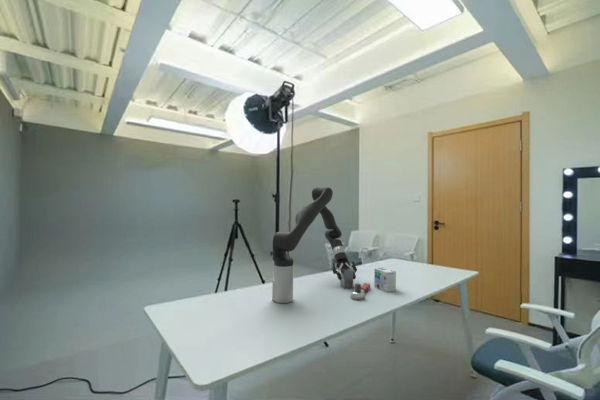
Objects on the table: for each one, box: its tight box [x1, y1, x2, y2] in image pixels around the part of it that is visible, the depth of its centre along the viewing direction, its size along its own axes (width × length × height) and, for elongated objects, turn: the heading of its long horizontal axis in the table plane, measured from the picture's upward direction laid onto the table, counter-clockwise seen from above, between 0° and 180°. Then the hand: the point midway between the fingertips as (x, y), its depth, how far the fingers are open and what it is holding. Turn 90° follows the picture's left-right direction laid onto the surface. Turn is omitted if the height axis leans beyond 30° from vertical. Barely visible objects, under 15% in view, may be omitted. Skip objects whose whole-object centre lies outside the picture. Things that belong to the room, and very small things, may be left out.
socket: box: [339, 268, 354, 289], centre depth 162 cm, size 5×5×10 cm
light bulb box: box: [373, 267, 397, 293], centre depth 159 cm, size 11×7×11 cm, turn 25°
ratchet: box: [350, 282, 371, 301], centre depth 150 cm, size 23×7×7 cm, turn 153°
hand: (347, 279), depth 161 cm, fingers open, 8 cm apart
